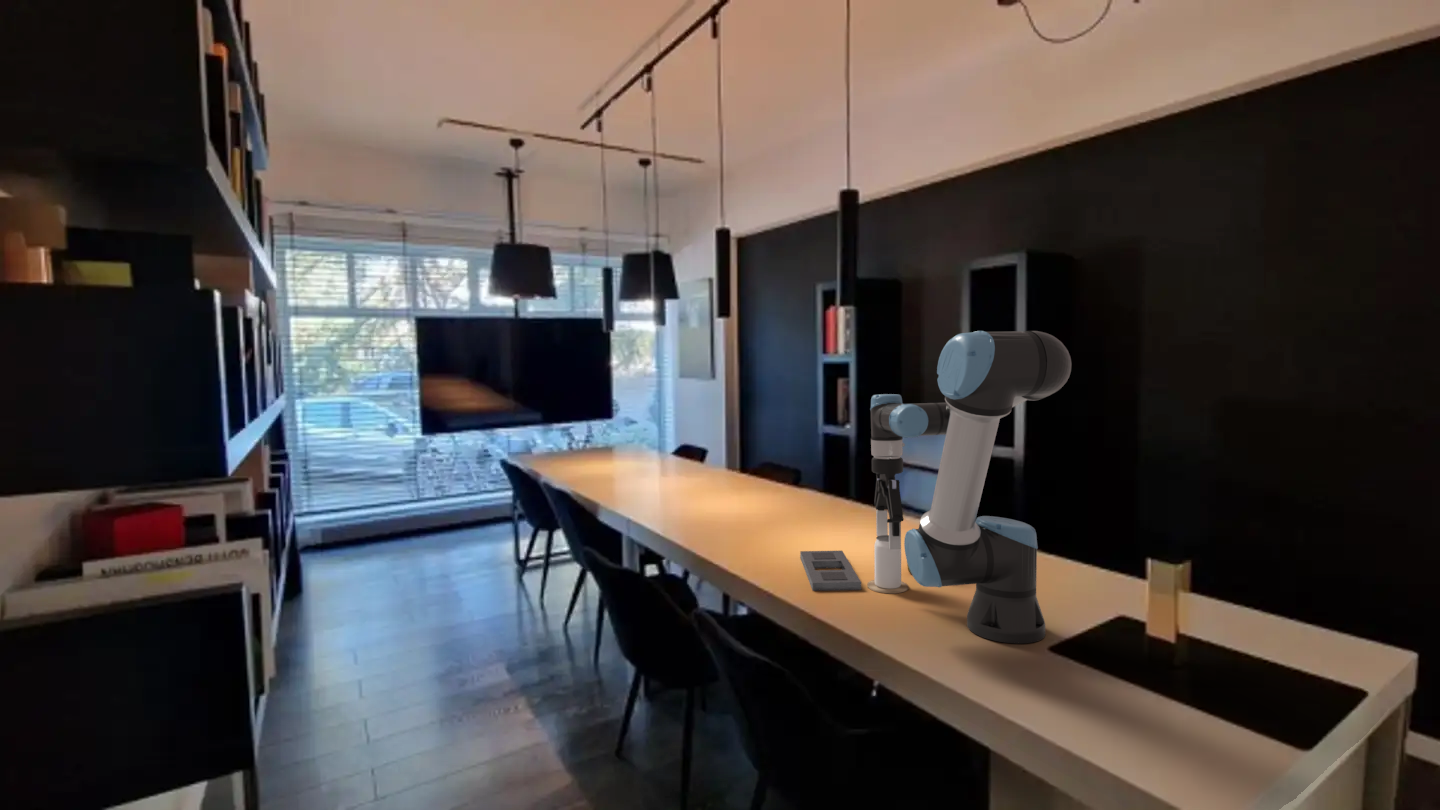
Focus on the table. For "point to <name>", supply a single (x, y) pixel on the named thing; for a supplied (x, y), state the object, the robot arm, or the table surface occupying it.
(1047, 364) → the robot arm
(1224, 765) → the table surface
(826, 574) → the panel
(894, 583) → the can
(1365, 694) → the table surface
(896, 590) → the coaster
